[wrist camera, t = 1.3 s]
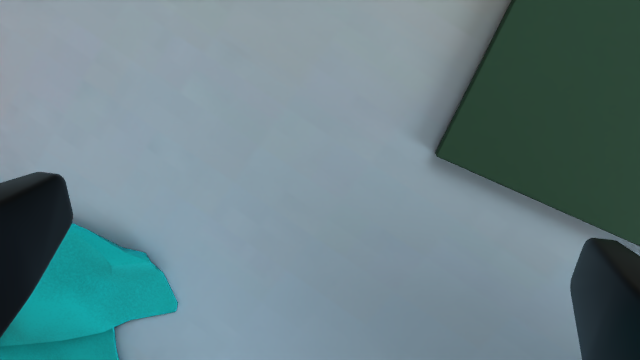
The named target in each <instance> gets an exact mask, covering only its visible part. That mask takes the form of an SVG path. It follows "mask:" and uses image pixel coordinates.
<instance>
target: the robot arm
mask: <svg viewBox="0 0 640 360" xmlns="http://www.w3.org/2000/svg"><path fill="white" fill-rule="evenodd" d="M72 220H73V212H72V207H71V203H70V199H69V195H68V190H67V186H66V182H65V180H64V178H63V177H62V176H60V175H59V174H53V173H45V172H36V173H32V174H29V175H26V176H22V177H19V178H16V179H12V180H9V181H6V182H2V183H0V338H1V337H2V335H3V334H4V332H5V331H6V330H7V328H8V327H9V325H10V324H11V323H12V321H13V320H14V318H15V317H16V316H17V314H18V313H19V311H20V310H21V309H22V307H23V306H24V304H25V303H26V302H27V300H28V299H29V297H30V296H31V294H32V293H33V291H34V289H35V288H36V286H37V284H38V283H39V281H40V279H41V277H42V276H43V274H44V272H45V270H46V269H47V267H48V265H49V263H50V262H51V260H52V258H53V256H54V255H55V253H56V251H57V249H58V248H59V246H60V244H61V242H62V241H63V239H64V237H65V235H66V234H67V232H68V230H69V228H70V226H71V224H72ZM570 289H571V297H572V303H573V308H574V314H575V320H576V326H577V332H578V338H579V344H580V349H581V355H582V360H640V256H638V255H637V254H635V253H634V252H633V251H631V250H630V249H628V248H627V247H625V246H624V245H622V244H621V243H619V242H617V241H614V240H607V239H599V238H590V239H588V240H587V241H586V242H585V244H584V246H583V248H582V251H581V254H580V256H579V259H578V262H577V264H576V267H575V270H574V272H573V275H572V278H571V285H570Z"/></svg>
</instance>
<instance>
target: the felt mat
mask: <svg viewBox="0 0 640 360" xmlns="http://www.w3.org/2000/svg"><path fill="white" fill-rule="evenodd" d="M435 154H436V156H437V157H439V158H442V159H444V160H446V161H448V162H451V163H453V164H455V165H458V166H460V167H462V168H464V169H467V170H469V171H471V172H473V173H476V174H478V175H480V176H482V177H485V178H487V179H489V180H491V181H494V182H496V183H498V184H501V185H503V186H505V187H507V188H510V189H512V190H514V191H516V192H519V193H521V194H523V195H525V196H528V197H530V198H532V199H534V200H537V201H539V202H541V203H544V204H546V205H548V206H550V207H553V208H555V209H557V210H559V211H562V212H564V213H566V214H568V215H571V216H573V217H575V218H577V219H580V220H582V221H584V222H587V223H589V224H591V225H593V226H596V227H598V228H600V229H602V230H605V231H607V232H609V233H611V234H614V235H616V236H618V237H620V238H623V239H625V240H627V241H630V242H632V243H634V244H636V245H639V246H640V0H512V1H511V3H510V5H509V7H508V9H507V11H506V13H505V15H504V17H503V19H502V21H501V23H500V25H499V27H498V29H497V31H496V33H495V35H494V37H493V39H492V41H491V43H490V45H489V47H488V49H487V51H486V53H485V55H484V57H483V59H482V61H481V63H480V65H479V67H478V69H477V71H476V73H475V75H474V77H473V79H472V81H471V83H470V84H469V86H468V88H467V90H466V92H465V94H464V96H463V98H462V100H461V102H460V104H459V106H458V108H457V110H456V112H455V114H454V116H453V118H452V120H451V122H450V124H449V126H448V128H447V130H446V132H445V134H444V136H443V138H442V140H441V142H440V144H439V146H438V148H437V150H436V152H435Z"/></svg>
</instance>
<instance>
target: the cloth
mask: <svg viewBox="0 0 640 360" xmlns="http://www.w3.org/2000/svg"><path fill="white" fill-rule="evenodd" d="M177 305H178V302H177V300H176V298H175V296H174V294H173V292H172V290H171V287H170V285H169V283H168V281H167V279H166V277H165V275H164V273H163V272H162V271H161V270H160V269H158V268H157V267H156V266H155V265H154V264H153V263H152V262H151V261H150V259H149V258H148V256H147V254H146V253H144V252H140V251H136V250H131V249H127V248H123V247H120V246H118V245H117V244H115V243H113V242H111V241H109V240H107V239H105V238H103V237H101V236H99V235H97V234H95V233H93V232H91V231H89V230H87V229H85V228H82V227H80V226H77V225H75V224H73V223H72V224H71V226H70V228H69V230H68V232H67V234H66V235H65V237H64V239H63V241H62V242H61V244H60V246H59V248H58V249H57V251H56V253H55V255H54V256H53V258H52V260H51V262H50V263H49V265H48V267H47V269H46V270H45V272H44V274H43V276H42V277H41V279H40V281H39V283H38V284H37V286H36V288H35V289H34V291H33V293H32V294H31V296H30V297H29V299H28V300H27V302H26V303H25V304H24V306H23V307H22V309H21V310H20V311H19V313H18V314H17V316H16V317H15V318H14V320H13V321H12V323H11V324H10V325H9V327H8V328H7V330H6V331H5V332H4V334H3V335H2V337H1V338H0V360H119V357H118V353H117V349H116V340H115V330H114V327H116V326H118V325H120V324H123V323H125V322H127V321H129V320H134V319H140V318H145V317H150V316H156V315H161V314H166V313H172V312H175V311H176V309H177Z"/></svg>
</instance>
